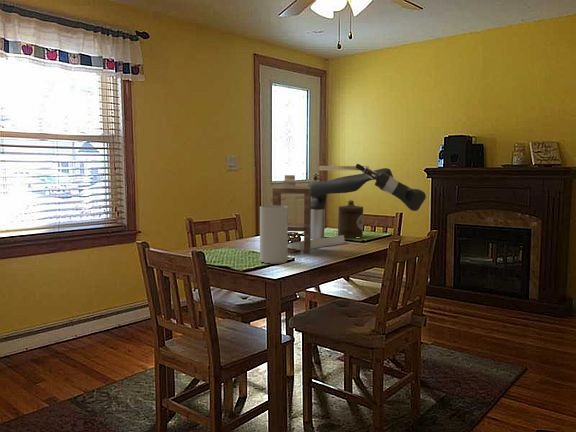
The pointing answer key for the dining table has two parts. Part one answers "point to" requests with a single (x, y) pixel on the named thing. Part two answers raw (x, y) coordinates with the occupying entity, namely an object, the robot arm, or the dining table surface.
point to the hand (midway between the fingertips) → (356, 165)
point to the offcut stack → (289, 181)
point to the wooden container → (350, 220)
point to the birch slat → (339, 167)
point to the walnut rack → (307, 211)
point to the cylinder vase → (274, 234)
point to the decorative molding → (318, 242)
